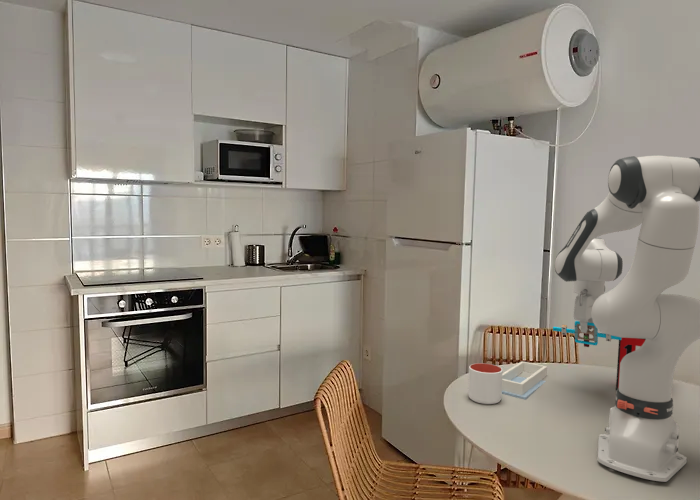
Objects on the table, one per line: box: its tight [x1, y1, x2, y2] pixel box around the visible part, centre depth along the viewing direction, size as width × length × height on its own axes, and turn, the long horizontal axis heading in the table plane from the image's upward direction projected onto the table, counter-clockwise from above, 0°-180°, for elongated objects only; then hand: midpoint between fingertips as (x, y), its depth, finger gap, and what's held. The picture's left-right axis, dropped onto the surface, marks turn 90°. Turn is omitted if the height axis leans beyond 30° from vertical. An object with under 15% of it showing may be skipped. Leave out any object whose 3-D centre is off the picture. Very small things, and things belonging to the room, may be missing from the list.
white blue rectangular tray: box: [502, 361, 548, 400], centre depth 166 cm, size 27×12×4 cm, turn 141°
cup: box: [467, 362, 504, 405], centre depth 152 cm, size 10×10×10 cm
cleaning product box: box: [615, 338, 646, 392], centre depth 163 cm, size 16×9×20 cm, turn 139°
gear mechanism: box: [552, 320, 622, 348], centre depth 159 cm, size 20×5×9 cm, turn 55°
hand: (586, 330), depth 158 cm, fingers closed on gear mechanism, 5 cm apart
